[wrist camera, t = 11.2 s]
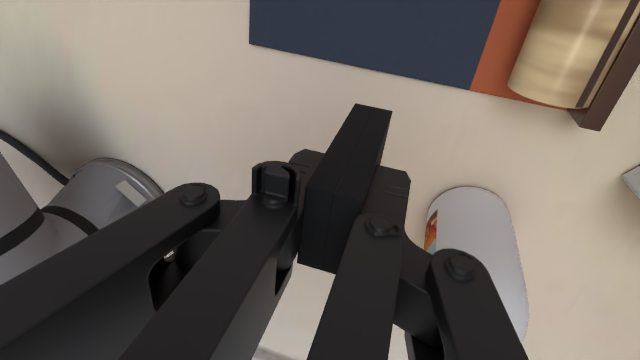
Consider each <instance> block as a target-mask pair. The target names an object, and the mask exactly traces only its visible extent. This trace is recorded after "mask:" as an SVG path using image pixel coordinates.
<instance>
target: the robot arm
mask: <svg viewBox="0 0 640 360" xmlns="http://www.w3.org/2000/svg"><path fill="white" fill-rule="evenodd" d="M391 115H392V111H389V110H384V109H380V108H375V107H370V106H365V105H360V104H356V103H355V105H354V107H353V108H352V110H351V112H350V113H349V115H348V117H347V118H346V120H345V122H344V123H343V125H342V127H341V128H340V130H339V131H338V133H337V135H336V136H335V138H334V140H333V141H332V143H331V145H330V146H329V148H328V150H327V151H326V153H325V154H324V153H320V152H316V151H312V150H308V149H304V150H302V151H300V152H298V153H295V154H294V155H293V157H292V158H291V159H290V161H289V163H286V162H280V161H266V162H263V163H259V164H257V165H256V166H254V167H253V168H252V194H251V196H250V197H249V198H248V199H247V200H240V201H235V200H220V194H219V192H218V190H217V189H216V188H214V187H213V186H212V185H208V184H205V183H188V184H183V185H181V186H178V187H175V188H174V189H172V190H170V191H168V192H167V193H165V194H163V192H162V191H161V190H160V189H159V187H158V186H157V185H156V184H155V183H154V182H153V181H152V180H151V179H150V178H149V177H148V176H146V175H145V174H144V173H142V172H141V171H140V170H138V169H136V168H135V167H133V166H131V165H129V164H127V163H125V162H122V161H119V160H116V159H110V158H99V159H95V160H92V161H91V162H89V163H87V164H85V165H84V166H82V167H80V168H79V169H77V170H76V171H75V172H74V174H73V175H72V176H71V177H70V179H68V178H66V177H65V176H64V175H62V174H61V173H60V172H58V171H57V170H56V169H55V168H54V167H52V166H51V165H50V164H49V163H48V162H46V161H45V160H44V159H42V158H41V157H40V156H38V155H37V154H35V153H34V152H33V151H31V150H30V149H29V148H27V147H26V146H24V145H23V144H22V143H20V142H19V141H17V140H16V139H14V138H13V137H11V136H10V135H8V134H6V133H4V132H3V131H1V130H0V139H2V140H3V141H5V142H6V143H8V144H10V145H11V146H13V147H14V148H15V149H17V150H18V151H20V152H21V153H22V154H24V155H25V156H27V157H28V158H29V159H31V160H32V161H33V162H35V163H36V164H38V165H39V166H40V167H41V168H43V169H44V170H45V171H46V172H47V173H49V174H50V175H51V176H52V177H53V178H55V179H56V180H57V181H59V182H60V183H61V184H63V185H64V186H65V187H64V188H62V189H61V190H60V191H59V193H58V194H57V195H56V196H55V197H54V198H53V199H52V201H51V202H50V203H49V204H48V205H47V206H45V207H44V208H42V209H41V210H40V209H39V208H38V206H37V204H36V203H35V202H34V200H33V199H32V197H31V196H30V194H29V193H28V191H27V190H26V189H25V187H24V186H23V184H22V183H21V181H20V180H19V178H18V177H17V176H16V174H15V173H14V171H13V170H12V168H11V167H10V165H9V164H8V162H7V161H6V160H5V158H4V157H3V155H2V154H1V152H0V360H251V359H252V357H253V355H254V353H255V350H256V348H257V346H258V344H259V342H260V340H261V338H262V336H263V334H264V332H265V329H266V327H267V325H268V323H269V321H270V319H271V317H272V315H273V313H274V311H275V308H276V306H277V304H278V302H279V300H280V298H281V296H282V294H283V292H284V289H285V287H286V285H287V283H288V281H289V279H290V277H291V273H292V266H293V261H294V259H295V257H296V255H297V253H298V258H297V263H299V264H302V265H306V266H309V267H313V268H316V269H319V270H323V271H326V272H330V273H333V274H336V276H335V279H334V282H333V285H332V287H331V290H330V293H329V296H328V299H327V302H326V305H325V308H324V311H323V314H322V317H321V319H320V322H319V325H318V328H317V331H316V334H315V337H314V340H313V343H312V346H311V348H310V351H309V354H308V357H307V360H388V354H389V347H390V340H391V333H392V326H393V324H395V325H397V326H398V327H400V328H401V329H403V330H405V341H406V347H407V353H408V359H409V360H529V359H528V357H527V355H526V353H525V351H524V348H523V346H522V344H521V342H520V340H519V337H518V335H517V333H516V331H515V329H514V326H513V324H512V322H511V320H510V318H509V316H508V313H507V311H506V309H505V307H504V305H503V302H502V300H501V298H500V296H499V294H498V291H497V289H496V287H495V285H494V283H493V281H492V278H491V276H490V274H489V272H488V270H487V269H486V267H485V266H484V265H483V263H482V262H480V261H479V260H478V259H477V258H476V257H474V256H473V255H471V254H468V253H466V252H464V251H461V250H457V249H453V248H448V249H441V250H438V251H436V252H435V253H434V254H433V255H432V254H431V253H429V252H427V251H425V250H423V249H421V248H420V247H418V246H416V245H415V244H414V243H413V242H412V241H411V240H410V239H409V238H408V236H407V235H406V232H405V228H404V224H405V217H406V211H407V204H408V197H409V190H410V183H411V180H410V178H409V177H408V175H407V173H406V172H405V171H401V170H397V169H393V168H388V167H384V166H380V163H381V158H382V154H383V150H384V145H385V141H386V137H387V132H388V128H389V124H390V119H391ZM171 251H174V253H173V254H172V255H171V256H169V257H167V258H165V259H164V256H166V255H167V254H168V253H170V252H171Z"/></svg>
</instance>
